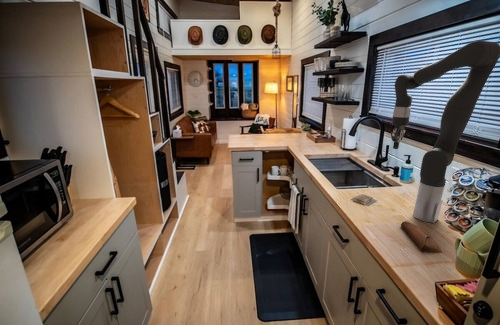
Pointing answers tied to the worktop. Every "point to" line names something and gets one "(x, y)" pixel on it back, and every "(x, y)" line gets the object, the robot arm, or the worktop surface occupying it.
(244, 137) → the worktop surface
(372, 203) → the mat
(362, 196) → the tile
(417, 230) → the sunglasses case
